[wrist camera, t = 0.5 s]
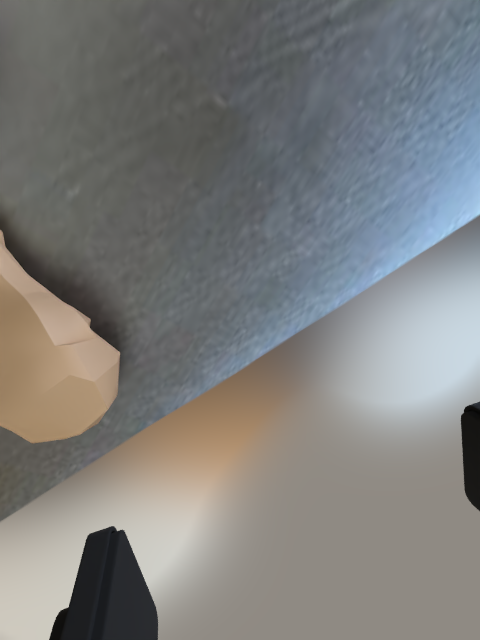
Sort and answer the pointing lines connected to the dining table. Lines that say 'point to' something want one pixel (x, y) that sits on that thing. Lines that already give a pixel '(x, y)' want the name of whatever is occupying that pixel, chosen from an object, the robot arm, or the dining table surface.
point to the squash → (49, 361)
